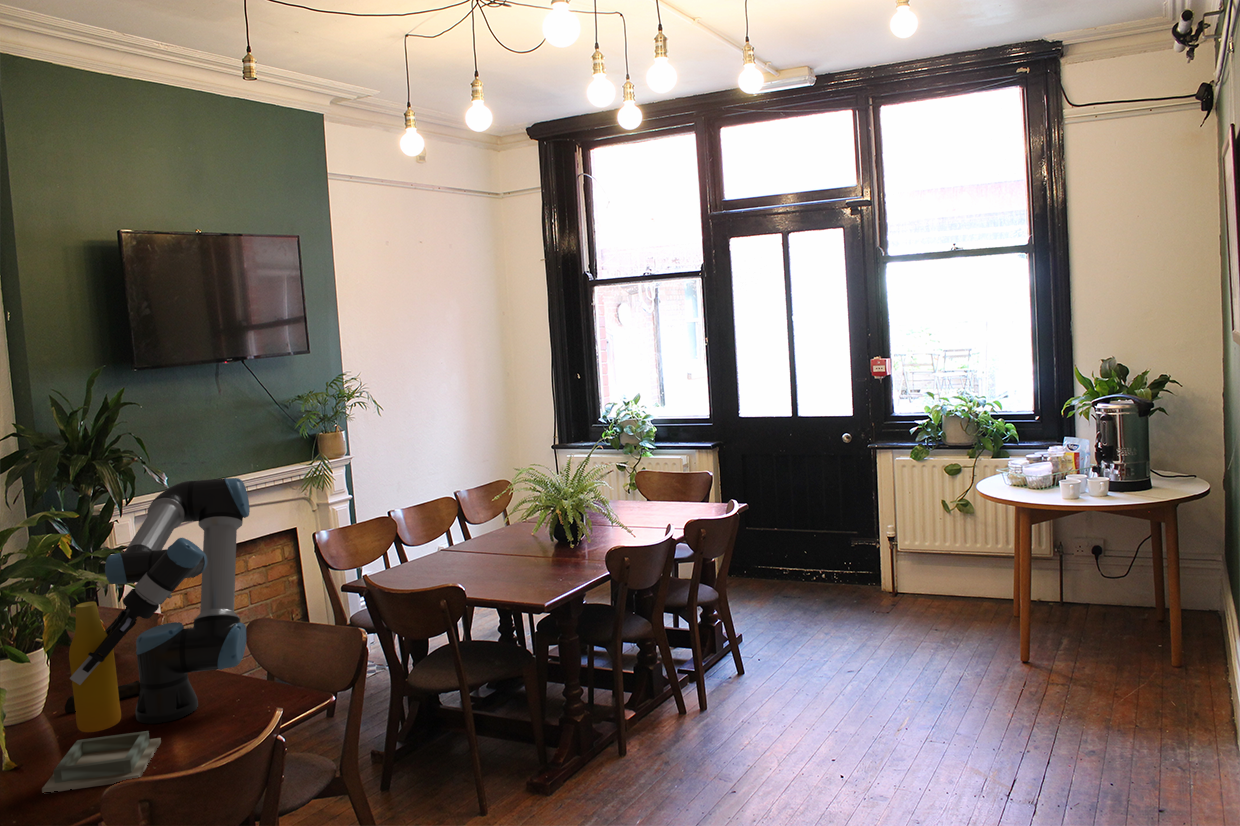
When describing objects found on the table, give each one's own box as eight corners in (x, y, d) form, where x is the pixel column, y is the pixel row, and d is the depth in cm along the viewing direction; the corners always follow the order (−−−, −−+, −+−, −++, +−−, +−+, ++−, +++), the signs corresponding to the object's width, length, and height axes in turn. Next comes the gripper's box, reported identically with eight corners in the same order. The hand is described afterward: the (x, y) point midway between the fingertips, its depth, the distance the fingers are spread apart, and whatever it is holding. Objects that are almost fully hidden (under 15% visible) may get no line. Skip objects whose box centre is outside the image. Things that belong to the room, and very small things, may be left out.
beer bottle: (74, 724, 223) (60, 604, 220) (117, 712, 229) (104, 595, 226) (80, 736, 216) (66, 613, 213) (125, 724, 221) (112, 603, 218)
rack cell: (72, 754, 231) (71, 737, 231) (161, 742, 236) (159, 726, 235) (42, 793, 212) (40, 775, 212) (139, 779, 216) (137, 762, 216)
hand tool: (139, 691, 271) (138, 676, 270) (143, 695, 268) (141, 679, 267) (64, 711, 259) (62, 695, 259) (66, 716, 256) (64, 699, 256)
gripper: (157, 618, 215) (86, 699, 211) (163, 594, 235) (97, 668, 231) (129, 599, 213) (56, 681, 208) (137, 576, 233) (70, 651, 228)
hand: (78, 674), depth 220 cm, fingers closed on beer bottle, 9 cm apart
